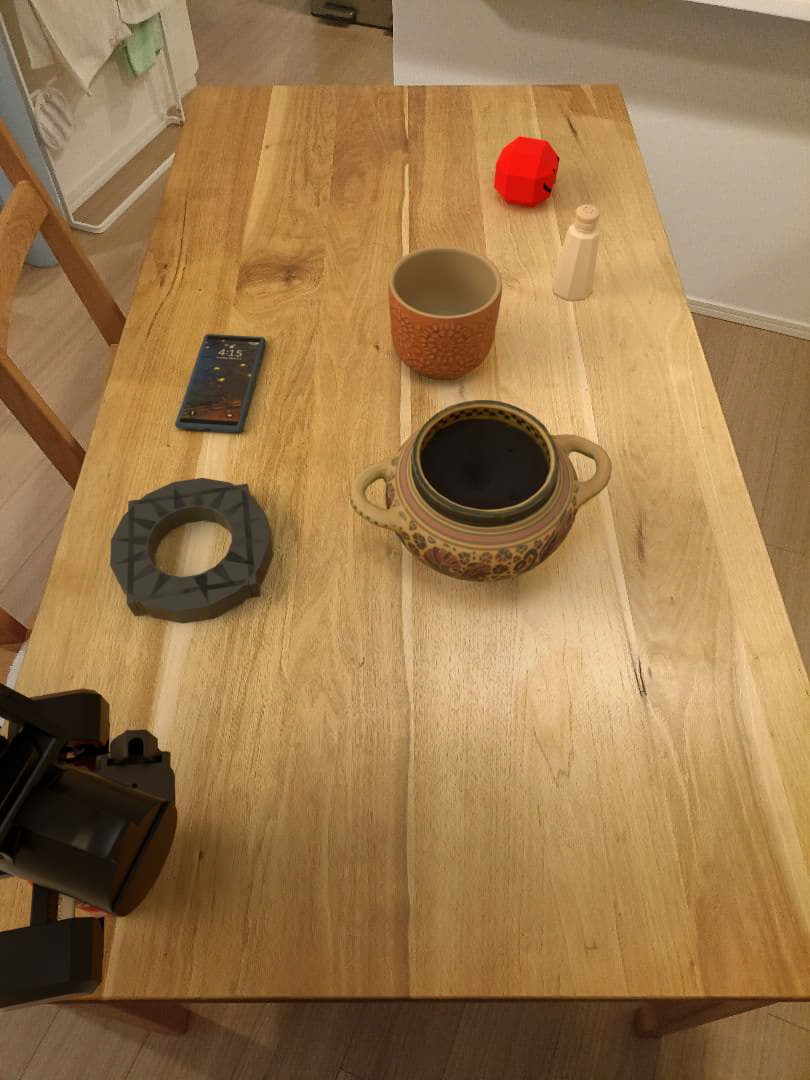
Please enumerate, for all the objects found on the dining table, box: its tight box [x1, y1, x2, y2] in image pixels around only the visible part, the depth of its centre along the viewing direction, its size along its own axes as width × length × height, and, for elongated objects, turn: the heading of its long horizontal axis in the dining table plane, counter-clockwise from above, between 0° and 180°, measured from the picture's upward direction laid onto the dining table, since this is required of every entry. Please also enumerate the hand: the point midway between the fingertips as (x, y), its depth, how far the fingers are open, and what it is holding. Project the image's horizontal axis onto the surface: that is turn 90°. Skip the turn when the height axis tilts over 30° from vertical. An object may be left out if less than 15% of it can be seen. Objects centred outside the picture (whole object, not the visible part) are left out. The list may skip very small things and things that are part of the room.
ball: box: [493, 135, 561, 209], centre depth 106 cm, size 8×8×8 cm
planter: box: [387, 244, 503, 380], centre depth 87 cm, size 12×12×11 cm
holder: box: [109, 477, 274, 624], centre depth 76 cm, size 15×15×2 cm
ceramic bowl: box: [348, 399, 613, 583], centre depth 72 cm, size 24×18×15 cm
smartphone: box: [175, 333, 267, 434], centre depth 89 cm, size 8×1×15 cm
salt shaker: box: [550, 204, 601, 302], centre depth 94 cm, size 5×5×11 cm
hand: (96, 861), depth 56 cm, fingers open, 9 cm apart
